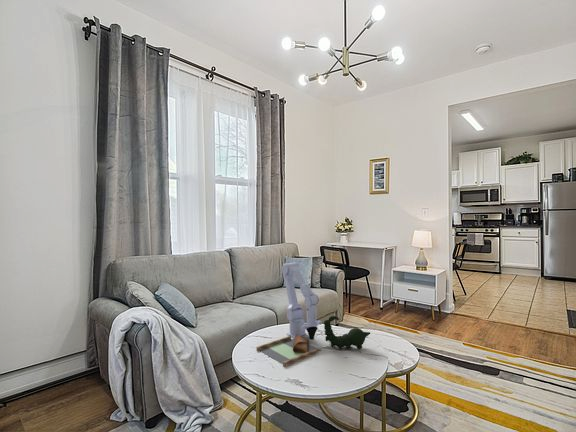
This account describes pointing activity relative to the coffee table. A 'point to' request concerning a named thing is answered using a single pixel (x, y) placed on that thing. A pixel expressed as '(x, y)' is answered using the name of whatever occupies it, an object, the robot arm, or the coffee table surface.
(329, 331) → the toy figurine
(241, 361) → the coffee table surface
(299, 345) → the sunglasses case
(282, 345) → the zone mats
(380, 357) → the coffee table surface
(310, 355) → the lane rails
